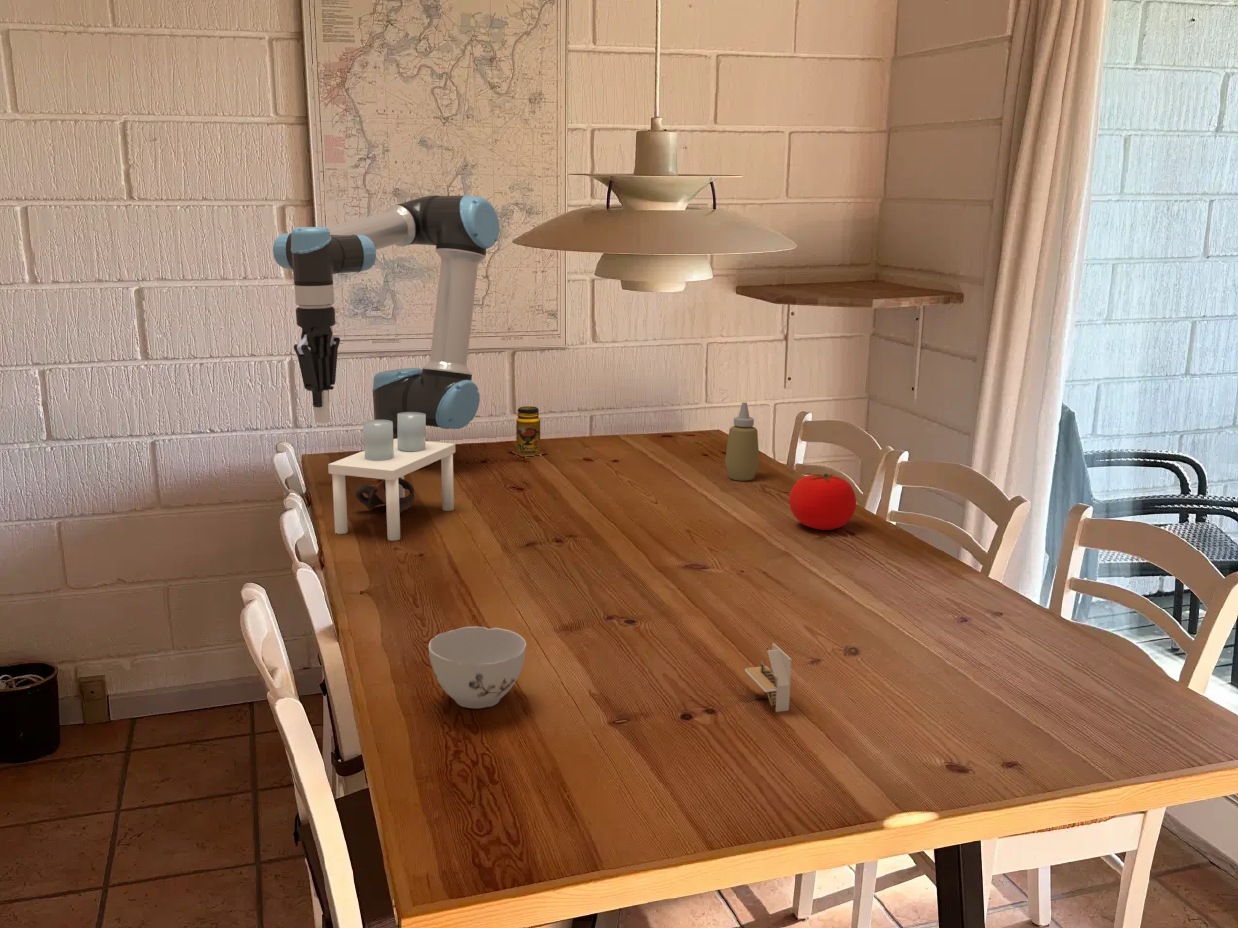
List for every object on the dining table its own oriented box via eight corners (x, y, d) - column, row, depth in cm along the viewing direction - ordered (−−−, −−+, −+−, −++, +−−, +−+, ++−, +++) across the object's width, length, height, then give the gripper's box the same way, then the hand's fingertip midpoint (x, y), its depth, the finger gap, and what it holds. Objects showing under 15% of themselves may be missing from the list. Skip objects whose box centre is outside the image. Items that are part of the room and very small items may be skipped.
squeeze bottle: (735, 472, 266) (737, 398, 262) (765, 477, 262) (768, 402, 258) (717, 479, 260) (720, 403, 256) (748, 484, 255) (751, 407, 251)
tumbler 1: (374, 453, 221) (373, 418, 219) (399, 455, 219) (398, 420, 217) (359, 459, 216) (357, 423, 214) (384, 461, 214) (383, 426, 212)
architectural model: (765, 716, 142) (767, 662, 140) (744, 693, 149) (746, 641, 147) (789, 713, 143) (792, 659, 141) (767, 691, 150) (770, 639, 148)
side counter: (397, 501, 238) (395, 438, 234) (456, 508, 233) (455, 443, 230) (331, 533, 215) (328, 464, 211) (395, 541, 210) (392, 470, 207)
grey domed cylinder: (403, 444, 228) (403, 411, 226) (429, 446, 227) (429, 413, 226) (393, 449, 223) (393, 415, 221) (419, 452, 222) (420, 417, 220)
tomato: (865, 532, 220) (869, 478, 217) (807, 538, 215) (810, 483, 213) (834, 516, 231) (837, 464, 228) (778, 522, 226) (780, 469, 224)
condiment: (523, 458, 278) (523, 411, 275) (506, 452, 285) (506, 406, 282) (548, 454, 282) (548, 408, 279) (531, 448, 289) (530, 403, 286)
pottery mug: (407, 505, 237) (417, 476, 232) (408, 535, 230) (418, 506, 225) (350, 495, 233) (360, 465, 228) (349, 525, 225) (359, 496, 221)
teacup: (535, 715, 141) (535, 656, 139) (436, 726, 137) (434, 666, 135) (513, 667, 155) (512, 613, 153) (422, 677, 151) (421, 622, 150)
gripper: (317, 302, 229) (324, 414, 235) (279, 308, 217) (287, 426, 223) (349, 303, 226) (355, 417, 232) (312, 310, 214) (319, 429, 220)
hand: (322, 421), depth 227 cm, fingers closed
